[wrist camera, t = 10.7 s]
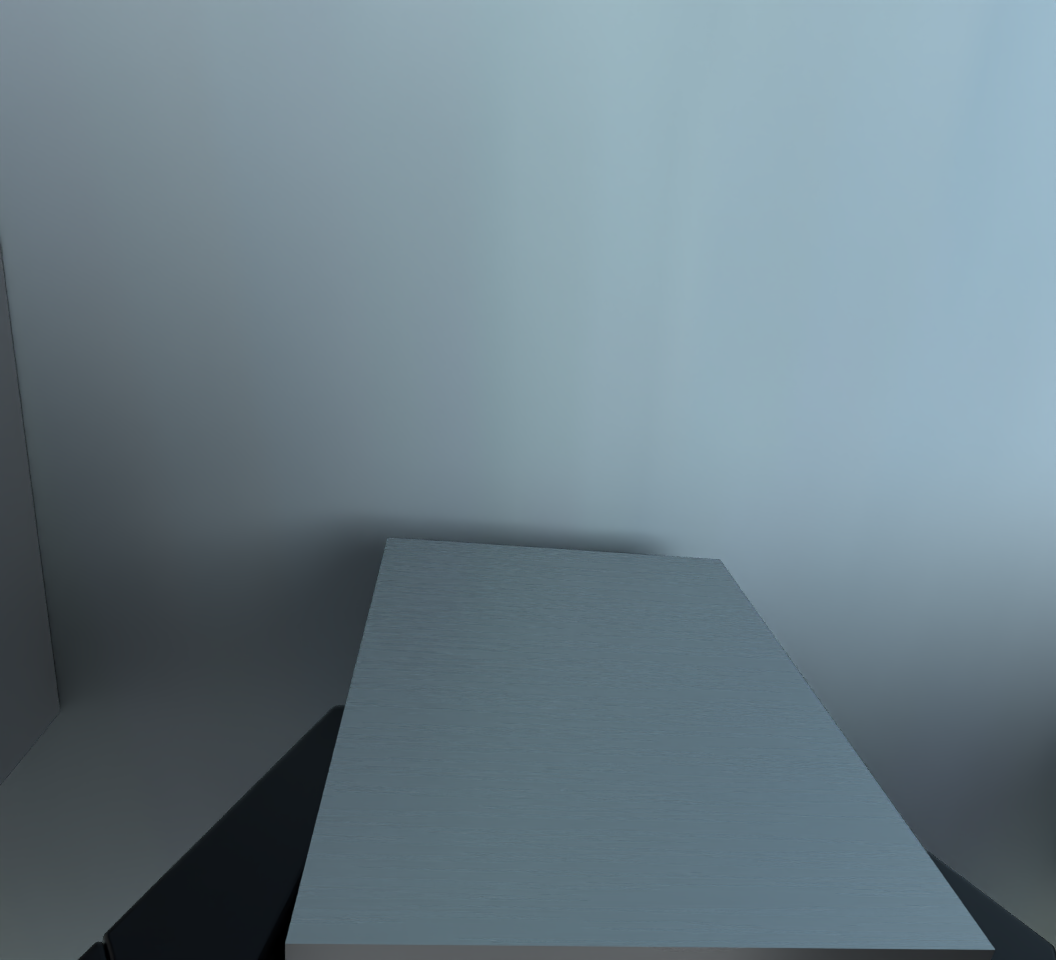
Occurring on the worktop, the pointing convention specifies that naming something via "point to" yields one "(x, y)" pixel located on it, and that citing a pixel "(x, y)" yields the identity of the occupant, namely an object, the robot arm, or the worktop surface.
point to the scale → (20, 580)
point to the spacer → (600, 779)
